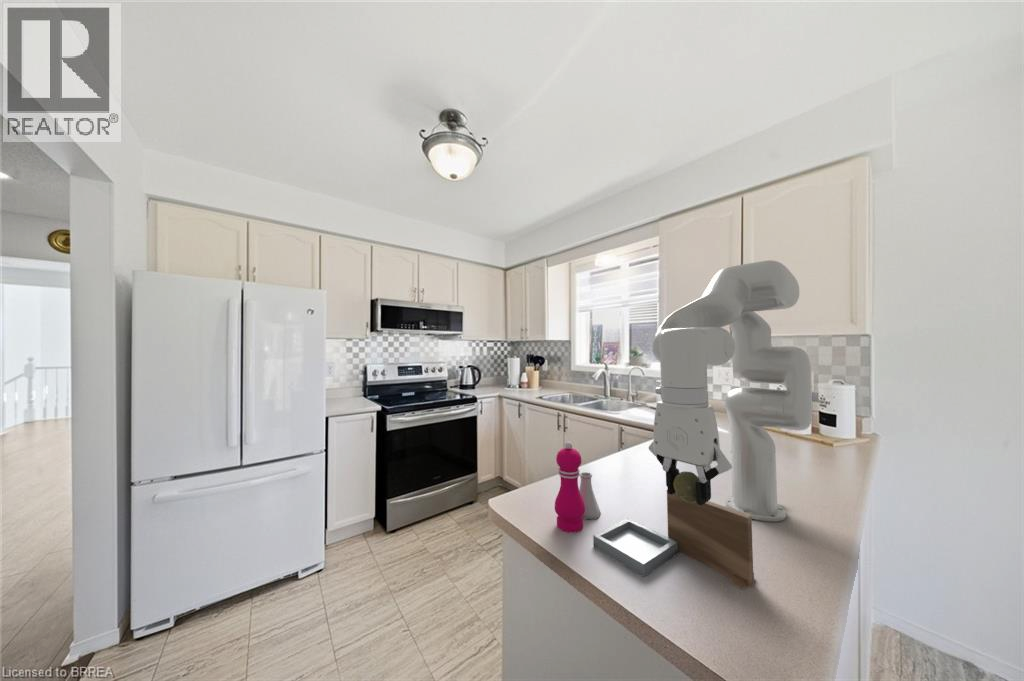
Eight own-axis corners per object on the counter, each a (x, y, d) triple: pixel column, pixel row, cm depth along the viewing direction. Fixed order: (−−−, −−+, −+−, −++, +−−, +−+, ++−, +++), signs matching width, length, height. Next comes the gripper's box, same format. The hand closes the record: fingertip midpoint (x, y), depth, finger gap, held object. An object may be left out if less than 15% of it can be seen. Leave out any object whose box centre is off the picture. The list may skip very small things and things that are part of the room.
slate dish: (627, 528, 78) (627, 518, 78) (678, 553, 68) (677, 541, 68) (593, 546, 71) (593, 535, 71) (643, 577, 61) (643, 564, 61)
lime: (707, 500, 59) (706, 472, 59) (693, 508, 57) (691, 479, 57) (683, 491, 63) (682, 465, 63) (668, 499, 60) (667, 471, 61)
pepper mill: (578, 537, 75) (577, 448, 75) (549, 528, 79) (548, 443, 79) (589, 523, 81) (587, 440, 81) (562, 515, 85) (560, 436, 85)
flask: (601, 521, 82) (601, 480, 82) (572, 518, 83) (571, 478, 83) (600, 507, 89) (599, 470, 89) (572, 505, 90) (571, 468, 90)
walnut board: (676, 541, 73) (675, 486, 73) (757, 579, 60) (755, 512, 61) (663, 549, 70) (662, 491, 70) (746, 591, 58) (743, 521, 58)
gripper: (630, 393, 65) (634, 487, 65) (726, 404, 51) (731, 524, 51) (652, 389, 69) (656, 477, 69) (746, 398, 55) (750, 508, 55)
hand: (688, 496), depth 60 cm, fingers closed on lime, 4 cm apart
